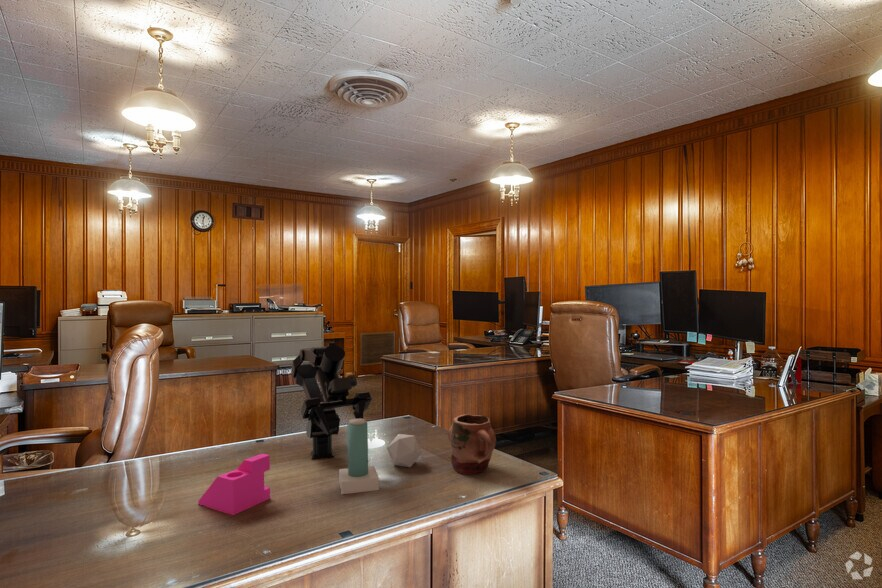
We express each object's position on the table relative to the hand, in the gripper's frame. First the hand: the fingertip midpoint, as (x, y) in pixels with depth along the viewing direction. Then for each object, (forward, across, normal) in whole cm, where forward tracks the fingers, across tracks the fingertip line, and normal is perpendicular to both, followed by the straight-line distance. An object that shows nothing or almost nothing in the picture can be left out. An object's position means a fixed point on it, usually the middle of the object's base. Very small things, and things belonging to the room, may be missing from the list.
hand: (345, 431), depth 133 cm
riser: (+14, 0, +2) cm, 14 cm away
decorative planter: (+19, +30, -3) cm, 36 cm away
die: (+9, +17, +8) cm, 21 cm away
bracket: (+9, -28, +8) cm, 30 cm away
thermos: (+12, 0, 0) cm, 12 cm away
